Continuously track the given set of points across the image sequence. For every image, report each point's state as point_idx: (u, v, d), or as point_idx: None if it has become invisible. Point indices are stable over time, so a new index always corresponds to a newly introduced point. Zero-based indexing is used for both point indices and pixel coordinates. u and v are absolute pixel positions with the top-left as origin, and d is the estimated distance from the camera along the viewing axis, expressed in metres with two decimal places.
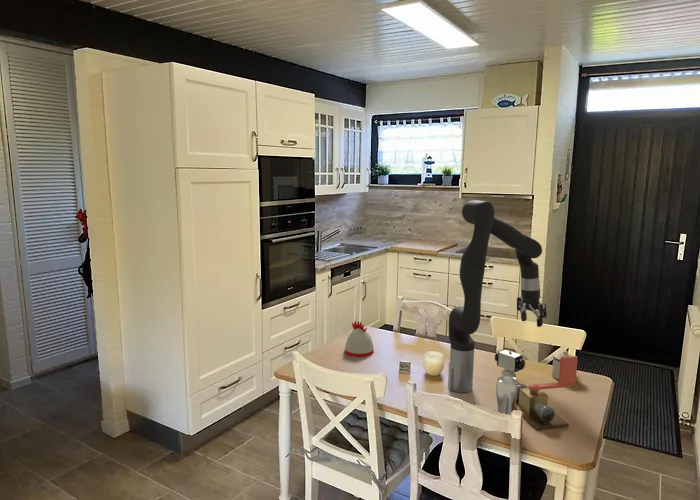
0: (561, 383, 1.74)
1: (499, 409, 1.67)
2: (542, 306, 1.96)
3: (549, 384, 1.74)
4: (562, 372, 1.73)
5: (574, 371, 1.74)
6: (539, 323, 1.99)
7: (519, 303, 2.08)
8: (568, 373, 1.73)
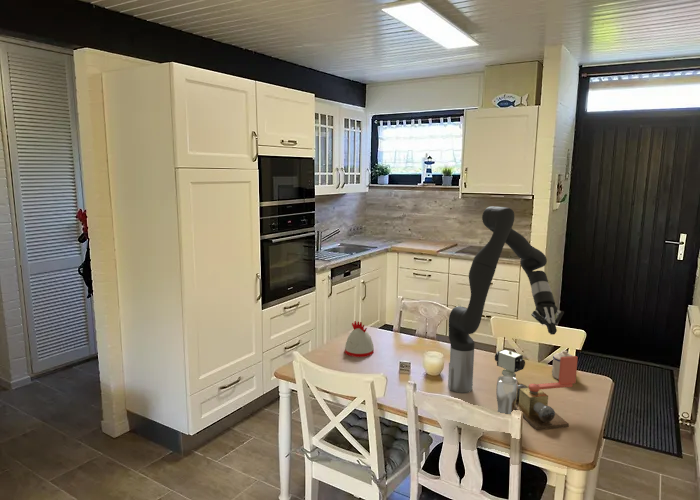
0: (561, 383, 1.74)
1: (499, 409, 1.67)
2: (563, 313, 1.91)
3: (549, 384, 1.74)
4: (562, 372, 1.73)
5: (574, 371, 1.74)
6: (555, 328, 1.87)
7: None
8: (568, 373, 1.73)
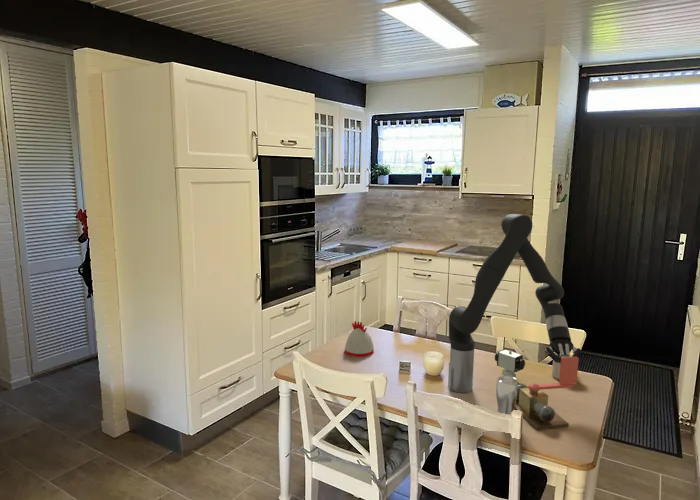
0: (562, 383, 1.73)
1: (499, 409, 1.67)
2: (579, 351, 1.79)
3: (550, 384, 1.73)
4: (562, 372, 1.72)
5: (575, 372, 1.73)
6: None
7: None
8: (569, 374, 1.73)
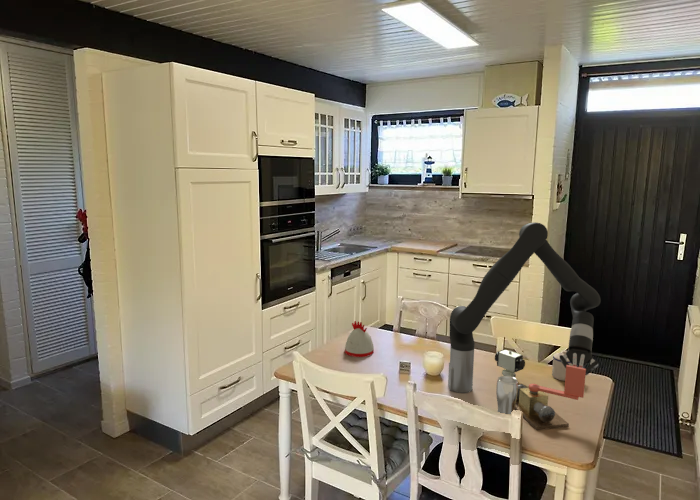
0: (565, 392, 1.66)
1: (499, 409, 1.67)
2: (597, 364, 1.66)
3: (552, 389, 1.69)
4: (565, 380, 1.66)
5: (581, 384, 1.63)
6: None
7: (566, 361, 1.71)
8: (574, 385, 1.64)
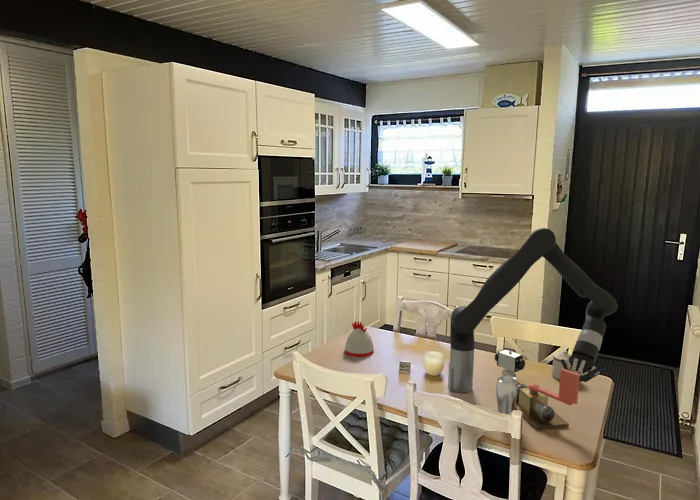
0: (559, 396, 1.63)
1: (499, 409, 1.67)
2: (597, 372, 1.60)
3: (550, 392, 1.67)
4: (560, 384, 1.63)
5: (574, 390, 1.59)
6: None
7: (566, 365, 1.67)
8: (567, 389, 1.61)
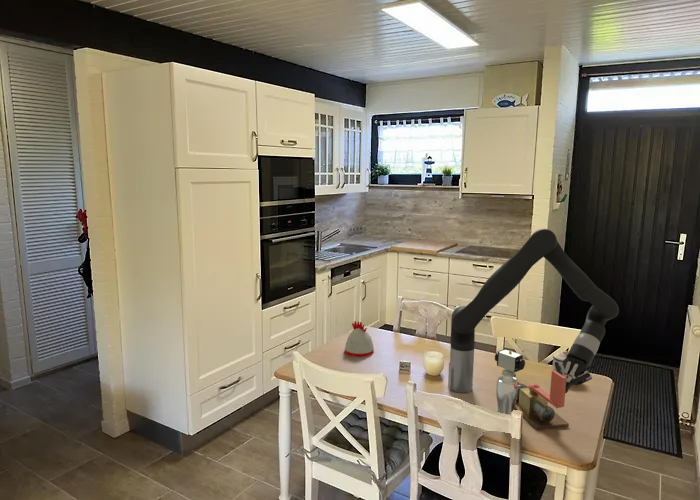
0: (550, 398, 1.62)
1: (499, 409, 1.67)
2: (588, 376, 1.57)
3: (545, 393, 1.66)
4: (551, 386, 1.62)
5: (560, 392, 1.57)
6: None
7: (559, 368, 1.64)
8: (556, 392, 1.59)
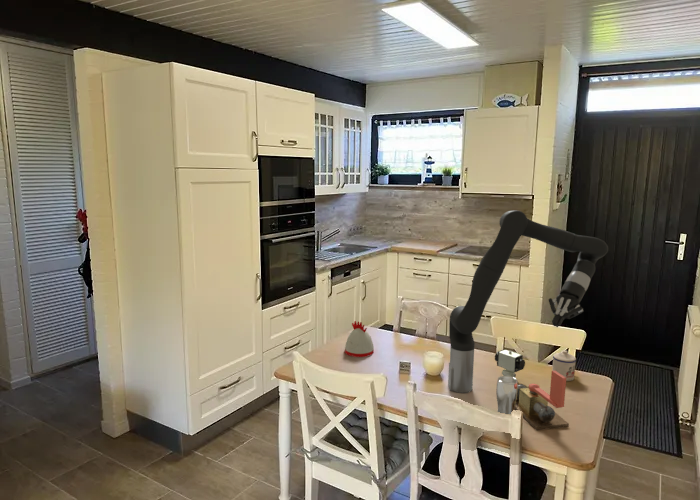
0: (550, 398, 1.62)
1: (499, 409, 1.67)
2: (580, 310, 1.70)
3: (545, 393, 1.66)
4: (551, 386, 1.62)
5: (560, 392, 1.57)
6: (559, 321, 1.71)
7: (553, 304, 1.77)
8: (555, 392, 1.59)
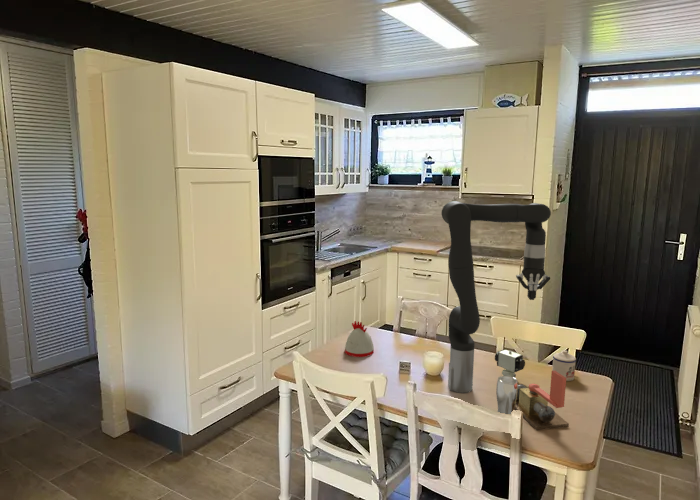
0: (550, 398, 1.62)
1: (499, 409, 1.67)
2: None
3: (545, 393, 1.66)
4: (551, 386, 1.62)
5: (560, 392, 1.57)
6: (535, 295, 1.86)
7: None
8: (555, 392, 1.59)
